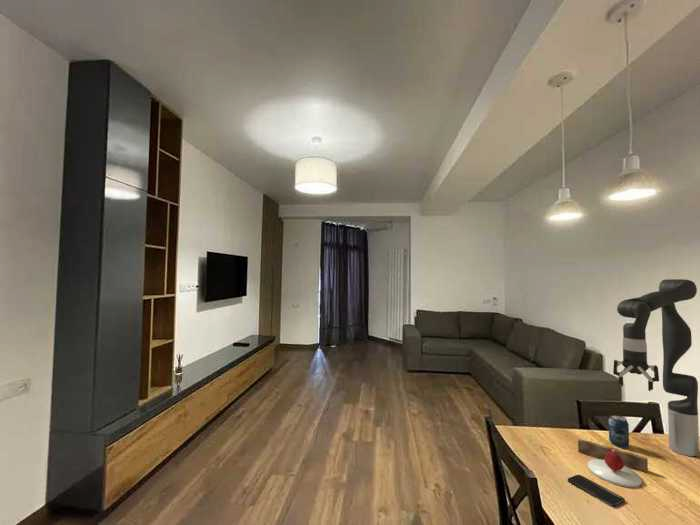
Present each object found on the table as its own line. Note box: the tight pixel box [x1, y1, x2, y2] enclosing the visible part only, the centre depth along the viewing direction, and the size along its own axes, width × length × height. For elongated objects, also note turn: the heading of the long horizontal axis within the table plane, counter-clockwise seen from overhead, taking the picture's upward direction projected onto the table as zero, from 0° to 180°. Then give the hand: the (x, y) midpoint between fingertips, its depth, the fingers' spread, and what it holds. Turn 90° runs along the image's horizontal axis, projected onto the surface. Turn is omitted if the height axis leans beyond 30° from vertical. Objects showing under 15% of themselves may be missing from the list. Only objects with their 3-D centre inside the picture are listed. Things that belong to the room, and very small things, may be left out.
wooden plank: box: [577, 438, 649, 473], centre depth 131 cm, size 22×2×5 cm, turn 50°
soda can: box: [608, 414, 630, 449], centre depth 145 cm, size 7×7×12 cm
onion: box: [604, 449, 624, 471], centre depth 123 cm, size 6×6×8 cm
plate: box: [587, 458, 643, 488], centre depth 123 cm, size 16×16×1 cm
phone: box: [567, 474, 626, 508], centre depth 112 cm, size 8×1×15 cm
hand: (635, 388), depth 133 cm, fingers open, 8 cm apart
